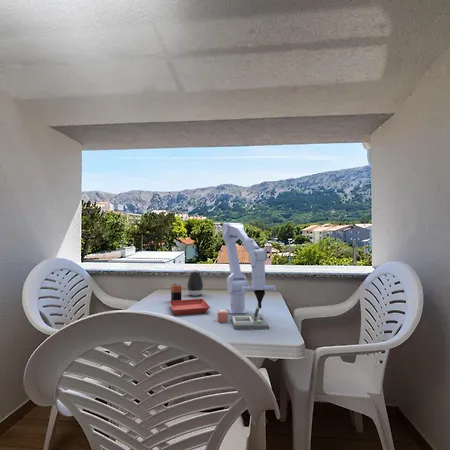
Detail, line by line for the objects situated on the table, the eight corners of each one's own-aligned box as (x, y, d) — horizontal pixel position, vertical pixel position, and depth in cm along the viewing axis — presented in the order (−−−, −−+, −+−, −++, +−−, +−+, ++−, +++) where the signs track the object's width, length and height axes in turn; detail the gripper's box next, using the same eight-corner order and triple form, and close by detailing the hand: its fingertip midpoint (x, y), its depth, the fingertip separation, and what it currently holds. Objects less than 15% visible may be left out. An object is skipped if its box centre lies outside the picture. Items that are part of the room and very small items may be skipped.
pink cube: (217, 318, 131) (217, 309, 131) (227, 318, 132) (227, 309, 132) (217, 322, 127) (218, 312, 127) (228, 321, 127) (228, 312, 127)
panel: (230, 317, 133) (230, 311, 133) (261, 316, 134) (261, 311, 134) (234, 329, 117) (234, 323, 117) (268, 328, 118) (268, 322, 118)
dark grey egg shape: (204, 293, 184) (204, 269, 184) (201, 296, 173) (202, 271, 174) (188, 292, 185) (189, 268, 185) (185, 296, 174) (185, 271, 175)
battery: (178, 299, 166) (178, 282, 167) (181, 302, 160) (181, 284, 160) (171, 300, 165) (171, 282, 165) (173, 303, 158) (173, 284, 159)
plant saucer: (172, 316, 135) (172, 309, 135) (169, 306, 152) (169, 300, 152) (210, 314, 140) (210, 307, 140) (203, 304, 157) (203, 298, 157)
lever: (253, 317, 128) (256, 304, 128) (255, 318, 128) (259, 305, 129) (254, 319, 126) (257, 306, 126) (256, 319, 126) (260, 307, 126)
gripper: (243, 278, 123) (244, 310, 122) (277, 277, 124) (278, 309, 123) (241, 276, 130) (241, 306, 129) (273, 274, 131) (274, 305, 131)
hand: (259, 307), depth 127 cm, fingers closed, pressing on lever
